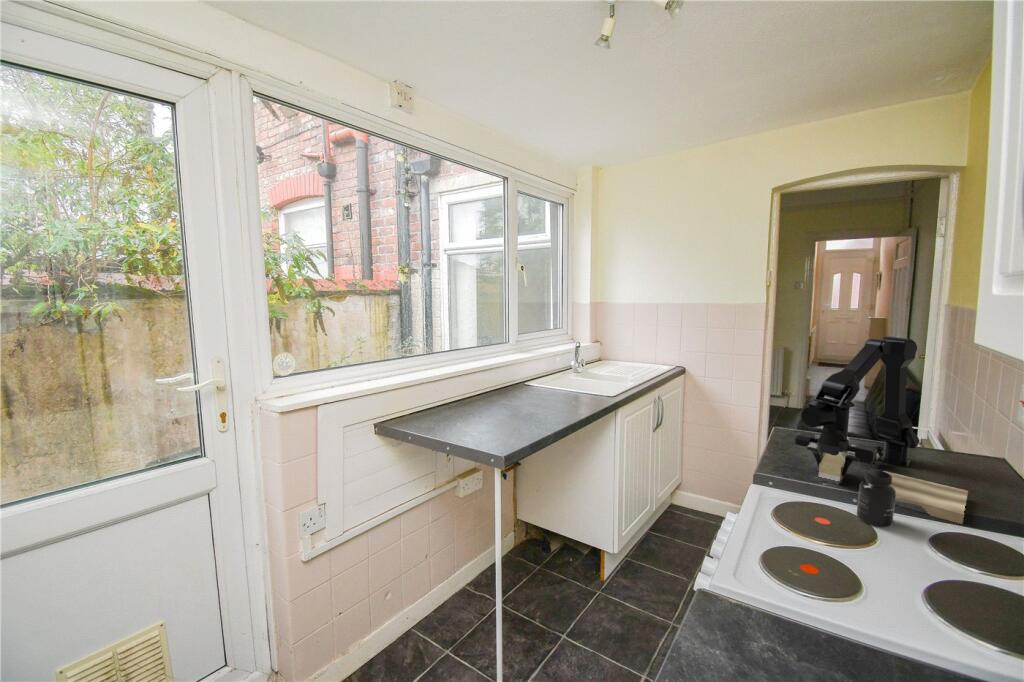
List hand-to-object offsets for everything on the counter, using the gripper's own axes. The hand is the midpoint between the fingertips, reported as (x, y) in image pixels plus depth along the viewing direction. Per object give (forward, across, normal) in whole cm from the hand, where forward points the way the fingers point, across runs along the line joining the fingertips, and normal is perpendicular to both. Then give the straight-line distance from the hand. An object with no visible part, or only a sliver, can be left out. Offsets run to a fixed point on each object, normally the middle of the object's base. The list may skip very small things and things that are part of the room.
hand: (831, 473), depth 130 cm
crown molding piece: (+1, +19, 0) cm, 19 cm away
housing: (+1, 0, 0) cm, 1 cm away
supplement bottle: (+1, +13, -20) cm, 24 cm away
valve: (+1, +2, +18) cm, 18 cm away
